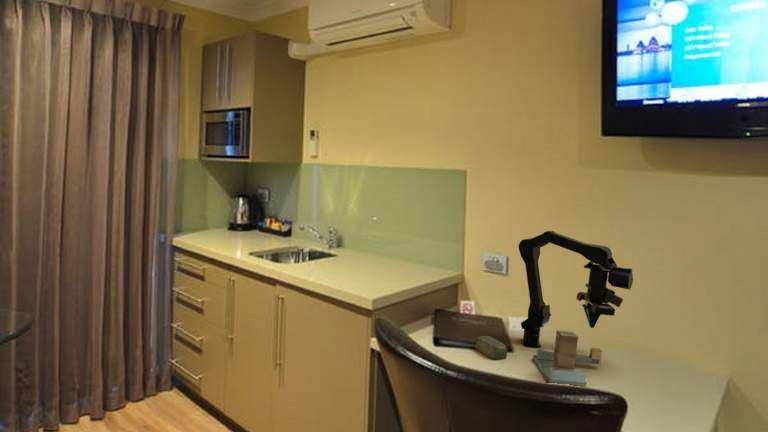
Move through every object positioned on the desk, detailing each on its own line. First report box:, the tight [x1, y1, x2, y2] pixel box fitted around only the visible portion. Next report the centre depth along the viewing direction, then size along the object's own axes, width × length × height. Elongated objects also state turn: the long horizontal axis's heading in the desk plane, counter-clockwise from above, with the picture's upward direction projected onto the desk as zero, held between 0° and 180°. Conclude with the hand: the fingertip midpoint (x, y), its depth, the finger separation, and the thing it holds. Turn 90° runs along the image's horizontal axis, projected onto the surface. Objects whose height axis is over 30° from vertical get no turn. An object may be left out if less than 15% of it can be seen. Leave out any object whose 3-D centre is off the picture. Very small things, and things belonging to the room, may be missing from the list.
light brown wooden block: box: [535, 347, 603, 365], centre depth 164 cm, size 2×20×5 cm, turn 88°
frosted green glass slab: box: [532, 354, 587, 387], centre depth 158 cm, size 20×11×4 cm, turn 178°
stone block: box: [474, 335, 508, 361], centre depth 170 cm, size 6×12×5 cm, turn 27°
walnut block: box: [552, 329, 579, 369], centre depth 153 cm, size 5×5×13 cm
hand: (591, 327), depth 169 cm, fingers closed
